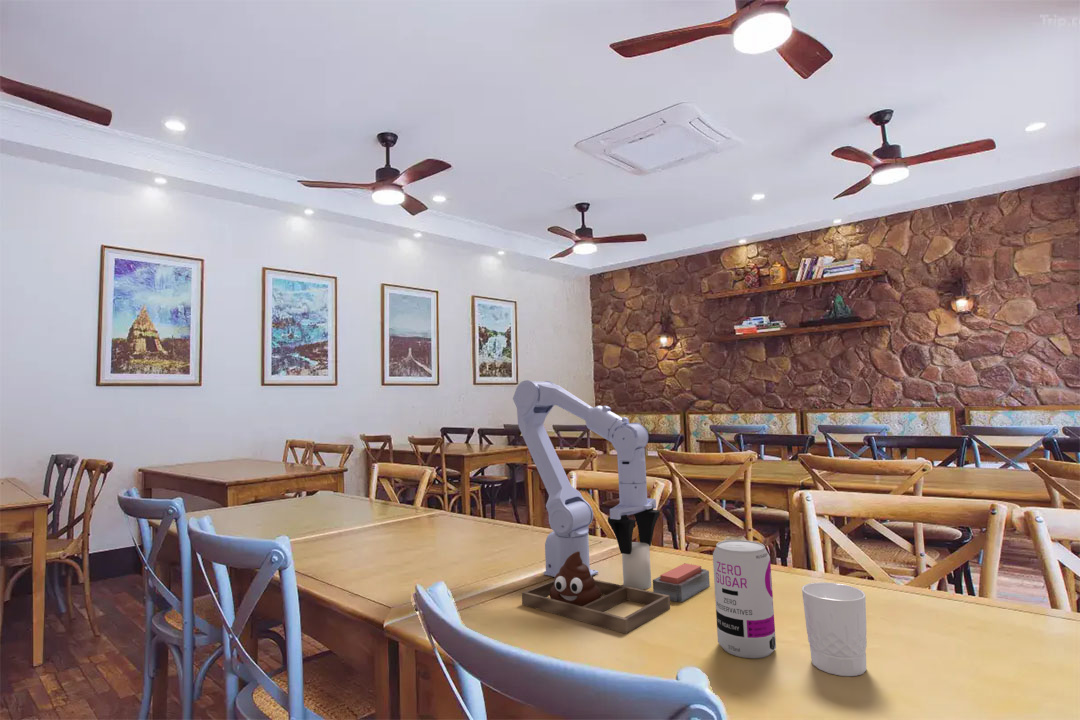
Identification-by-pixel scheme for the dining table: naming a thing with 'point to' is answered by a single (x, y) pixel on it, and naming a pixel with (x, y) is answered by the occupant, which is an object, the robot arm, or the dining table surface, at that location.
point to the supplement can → (744, 598)
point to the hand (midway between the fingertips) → (635, 549)
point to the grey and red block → (683, 586)
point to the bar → (680, 573)
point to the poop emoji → (574, 583)
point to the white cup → (836, 627)
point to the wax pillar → (637, 566)
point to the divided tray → (601, 605)
